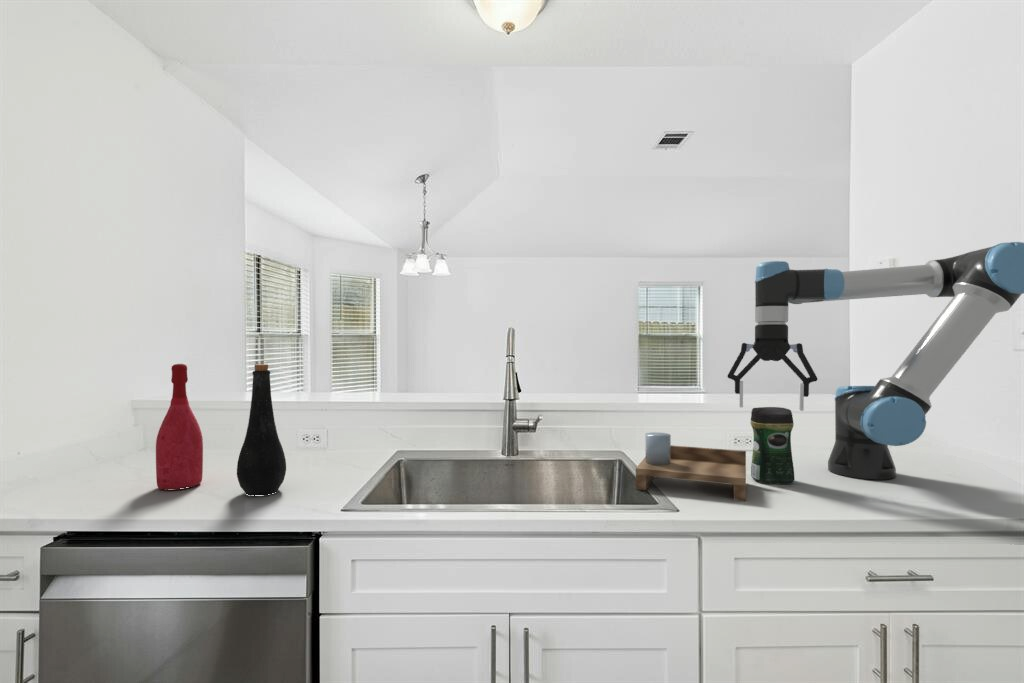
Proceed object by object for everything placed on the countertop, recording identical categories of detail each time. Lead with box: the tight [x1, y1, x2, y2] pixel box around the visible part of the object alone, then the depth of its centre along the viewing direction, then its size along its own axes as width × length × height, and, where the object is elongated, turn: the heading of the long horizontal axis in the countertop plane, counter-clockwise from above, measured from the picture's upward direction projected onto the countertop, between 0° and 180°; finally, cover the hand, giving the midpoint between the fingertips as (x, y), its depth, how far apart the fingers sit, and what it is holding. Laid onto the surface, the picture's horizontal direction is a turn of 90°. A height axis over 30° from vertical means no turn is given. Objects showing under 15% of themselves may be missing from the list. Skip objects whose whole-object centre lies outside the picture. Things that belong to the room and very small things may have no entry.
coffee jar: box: [750, 406, 796, 485], centre depth 135 cm, size 10×8×19 cm
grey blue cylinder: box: [645, 431, 672, 465], centre depth 134 cm, size 6×6×7 cm
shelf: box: [635, 445, 747, 502], centre depth 130 cm, size 24×16×8 cm, turn 66°
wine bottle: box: [155, 363, 204, 491], centre depth 132 cm, size 10×10×30 cm
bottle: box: [236, 363, 287, 496], centre depth 126 cm, size 11×11×30 cm
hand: (770, 408), depth 135 cm, fingers open, 13 cm apart
